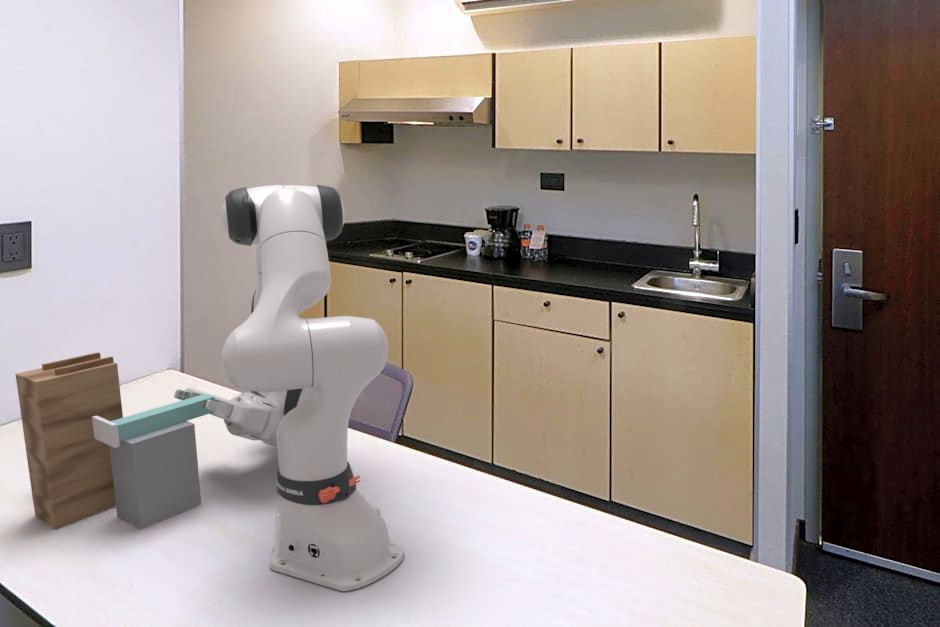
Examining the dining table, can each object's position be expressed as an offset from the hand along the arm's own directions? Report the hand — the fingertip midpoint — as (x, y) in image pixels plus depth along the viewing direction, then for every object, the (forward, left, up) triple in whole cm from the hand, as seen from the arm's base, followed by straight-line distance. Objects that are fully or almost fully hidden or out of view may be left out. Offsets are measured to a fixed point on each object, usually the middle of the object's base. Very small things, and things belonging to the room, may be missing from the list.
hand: (191, 398), depth 141 cm
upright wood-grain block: (+12, +16, -19) cm, 28 cm away
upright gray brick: (0, +8, -19) cm, 21 cm away
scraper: (0, +6, -3) cm, 7 cm away
